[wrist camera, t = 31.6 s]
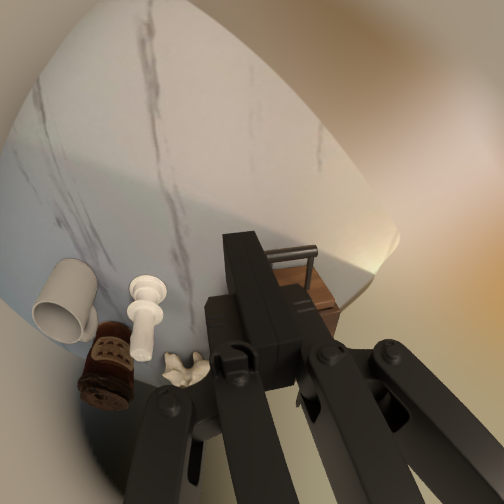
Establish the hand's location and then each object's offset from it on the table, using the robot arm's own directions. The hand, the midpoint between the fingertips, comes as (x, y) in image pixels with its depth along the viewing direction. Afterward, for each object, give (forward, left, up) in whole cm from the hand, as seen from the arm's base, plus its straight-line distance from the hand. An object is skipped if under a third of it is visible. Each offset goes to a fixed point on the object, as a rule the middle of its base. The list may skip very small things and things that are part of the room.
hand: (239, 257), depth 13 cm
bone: (+34, -6, -19) cm, 40 cm away
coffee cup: (+24, -18, -19) cm, 36 cm away
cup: (+14, -20, -19) cm, 31 cm away
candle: (+16, -10, -19) cm, 27 cm away
